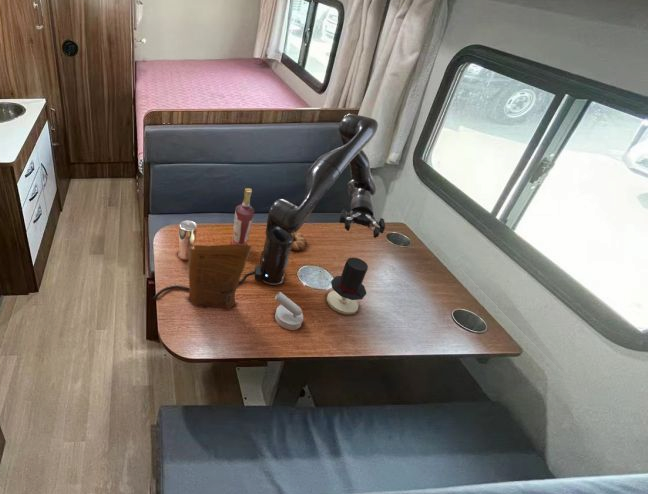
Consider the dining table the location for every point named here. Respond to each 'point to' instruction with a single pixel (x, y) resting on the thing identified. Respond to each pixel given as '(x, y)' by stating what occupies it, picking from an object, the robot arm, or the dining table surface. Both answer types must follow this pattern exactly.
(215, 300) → the pancake mix bag
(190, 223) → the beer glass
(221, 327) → the dining table surface
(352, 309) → the hat stand
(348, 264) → the hat
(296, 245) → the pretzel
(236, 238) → the liquor
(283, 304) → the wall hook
